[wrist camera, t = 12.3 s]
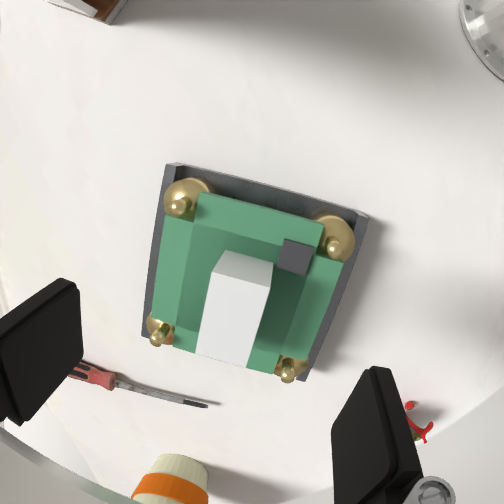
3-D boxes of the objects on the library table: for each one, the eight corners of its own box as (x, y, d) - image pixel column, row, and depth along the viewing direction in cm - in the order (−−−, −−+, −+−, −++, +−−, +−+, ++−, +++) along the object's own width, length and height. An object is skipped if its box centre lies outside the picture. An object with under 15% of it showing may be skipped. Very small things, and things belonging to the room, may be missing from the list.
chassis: (361, 211, 29) (380, 227, 23) (304, 365, 34) (306, 404, 28) (177, 162, 29) (149, 166, 23) (151, 322, 35) (127, 353, 29)
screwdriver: (210, 391, 37) (205, 406, 34) (209, 406, 38) (205, 422, 35) (50, 345, 39) (39, 355, 36) (54, 360, 40) (44, 371, 37)
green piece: (351, 231, 25) (368, 253, 20) (297, 373, 30) (297, 415, 24) (174, 184, 26) (145, 194, 20) (152, 333, 31) (128, 368, 25)
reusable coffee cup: (139, 440, 43) (106, 510, 28) (214, 453, 41) (194, 534, 27) (156, 478, 46) (132, 540, 32) (221, 490, 45) (206, 557, 31)
